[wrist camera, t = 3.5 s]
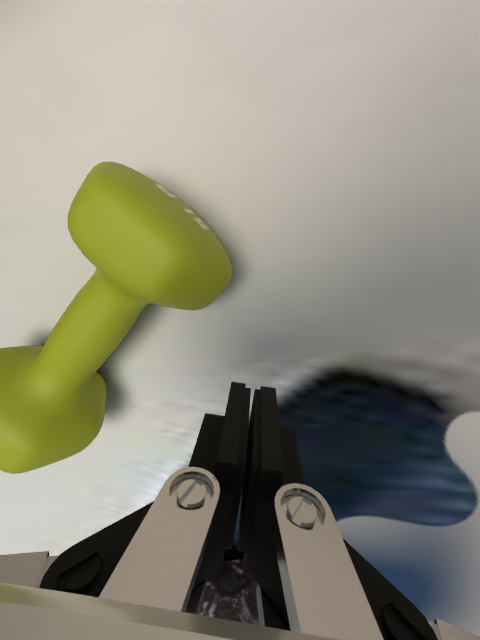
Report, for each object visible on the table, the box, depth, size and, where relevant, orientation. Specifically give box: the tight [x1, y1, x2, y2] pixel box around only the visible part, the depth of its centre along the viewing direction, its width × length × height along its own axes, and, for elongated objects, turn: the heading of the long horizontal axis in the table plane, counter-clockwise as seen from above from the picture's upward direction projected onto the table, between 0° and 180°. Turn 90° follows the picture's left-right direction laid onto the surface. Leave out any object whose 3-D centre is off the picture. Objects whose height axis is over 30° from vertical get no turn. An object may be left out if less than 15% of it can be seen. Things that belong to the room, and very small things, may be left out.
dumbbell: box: [0, 162, 233, 474], centre depth 15 cm, size 16×8×7 cm, turn 138°
